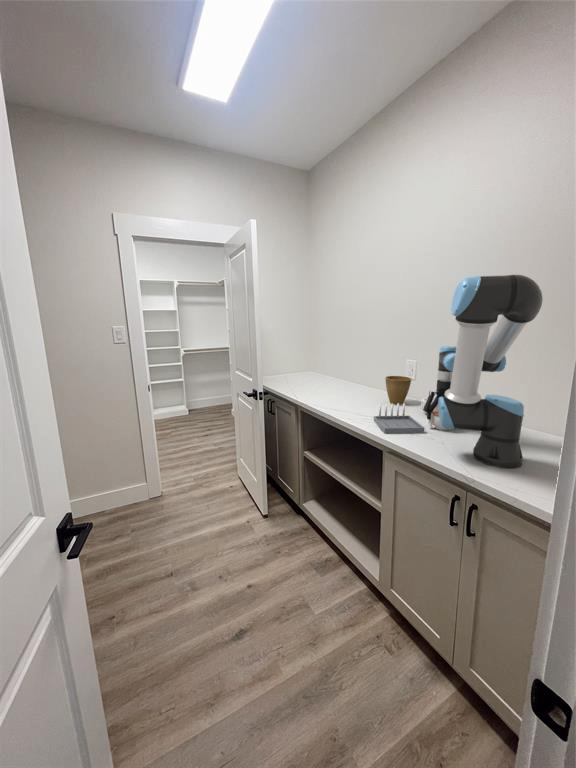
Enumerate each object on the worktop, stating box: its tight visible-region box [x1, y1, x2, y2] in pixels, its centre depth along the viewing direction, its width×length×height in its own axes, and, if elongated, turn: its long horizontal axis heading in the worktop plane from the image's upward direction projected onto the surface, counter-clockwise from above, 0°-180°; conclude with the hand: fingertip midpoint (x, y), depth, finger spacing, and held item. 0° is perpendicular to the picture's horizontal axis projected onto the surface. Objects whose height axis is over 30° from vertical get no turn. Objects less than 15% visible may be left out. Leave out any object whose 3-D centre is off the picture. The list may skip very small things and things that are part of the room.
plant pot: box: [384, 375, 412, 406], centre depth 187 cm, size 15×15×16 cm
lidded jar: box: [432, 409, 450, 431], centre depth 145 cm, size 11×11×9 cm
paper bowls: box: [420, 397, 438, 415], centre depth 166 cm, size 15×15×8 cm
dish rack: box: [373, 402, 425, 435], centre depth 148 cm, size 18×18×9 cm
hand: (442, 425), depth 145 cm, fingers closed on lidded jar, 11 cm apart
